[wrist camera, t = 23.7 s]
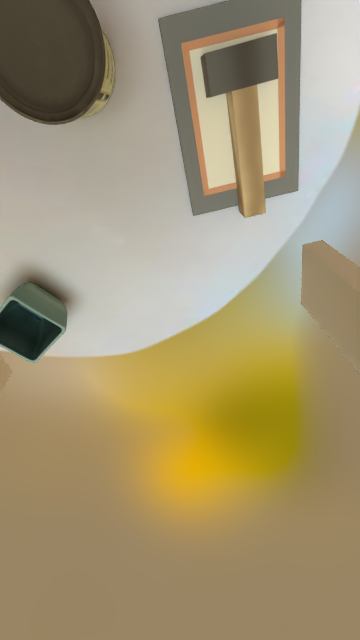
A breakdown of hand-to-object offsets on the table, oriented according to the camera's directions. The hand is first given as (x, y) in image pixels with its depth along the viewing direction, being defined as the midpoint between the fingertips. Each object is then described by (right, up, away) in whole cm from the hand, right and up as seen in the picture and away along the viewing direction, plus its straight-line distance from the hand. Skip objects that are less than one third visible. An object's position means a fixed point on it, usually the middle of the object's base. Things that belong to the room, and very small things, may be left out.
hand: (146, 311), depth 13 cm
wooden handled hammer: (+10, +24, +29) cm, 39 cm away
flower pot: (-22, +3, +40) cm, 46 cm away
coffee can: (-11, +29, +24) cm, 39 cm away
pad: (+9, +26, +28) cm, 39 cm away
